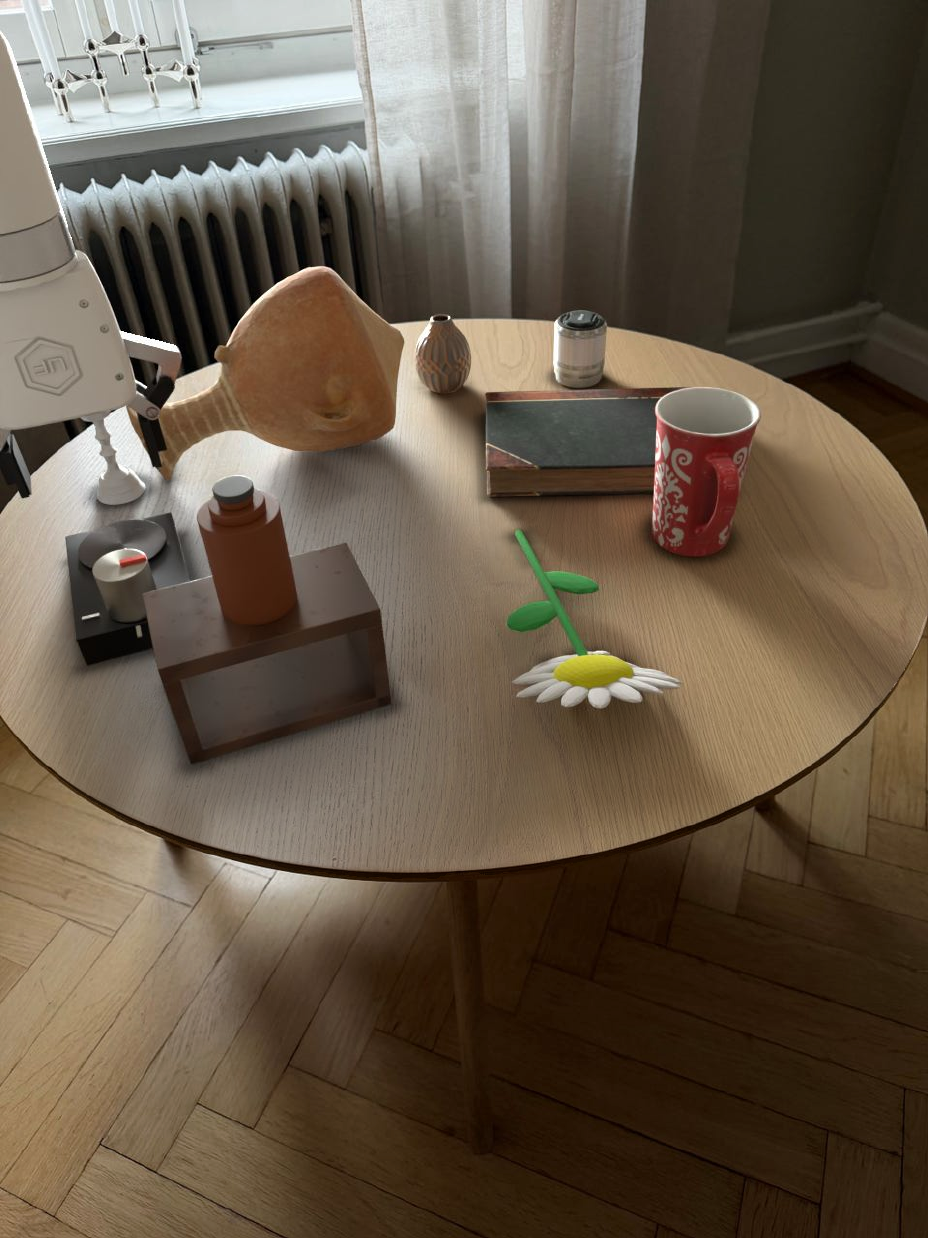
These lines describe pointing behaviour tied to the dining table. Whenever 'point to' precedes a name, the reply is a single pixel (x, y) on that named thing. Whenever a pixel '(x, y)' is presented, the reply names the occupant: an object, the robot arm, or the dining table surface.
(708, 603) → the dining table surface
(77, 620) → the stove
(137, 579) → the stove knob
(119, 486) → the chalice
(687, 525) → the mug
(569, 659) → the decorative flower
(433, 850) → the dining table surface
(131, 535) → the burner
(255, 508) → the bottle
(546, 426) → the book
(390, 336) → the jug
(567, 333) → the camera lens
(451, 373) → the vase
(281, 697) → the shelf
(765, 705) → the dining table surface
